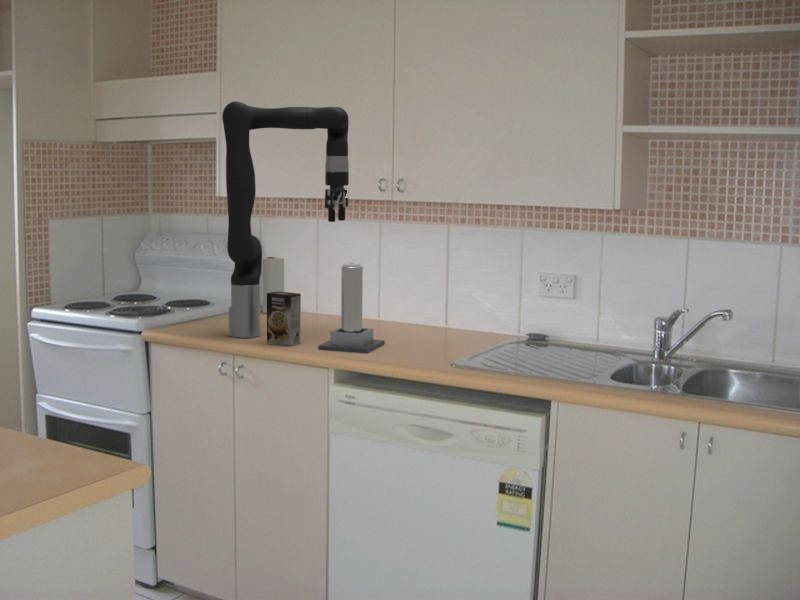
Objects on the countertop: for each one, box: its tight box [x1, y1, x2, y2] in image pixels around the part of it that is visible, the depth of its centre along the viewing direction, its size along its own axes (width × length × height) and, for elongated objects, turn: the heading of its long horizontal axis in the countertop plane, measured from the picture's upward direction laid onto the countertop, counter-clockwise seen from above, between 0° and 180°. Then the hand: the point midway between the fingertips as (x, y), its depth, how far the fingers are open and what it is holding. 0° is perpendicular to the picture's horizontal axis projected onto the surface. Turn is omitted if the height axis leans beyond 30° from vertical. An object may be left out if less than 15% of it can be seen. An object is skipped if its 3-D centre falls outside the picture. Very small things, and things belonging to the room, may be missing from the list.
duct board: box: [317, 327, 385, 354], centre depth 278 cm, size 16×16×5 cm
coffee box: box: [266, 291, 302, 347], centre depth 281 cm, size 9×6×16 cm
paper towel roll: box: [262, 256, 285, 315], centre depth 340 cm, size 7×6×21 cm
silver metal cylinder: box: [340, 262, 364, 333], centre depth 277 cm, size 6×6×25 cm
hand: (336, 221), depth 290 cm, fingers open, 8 cm apart
